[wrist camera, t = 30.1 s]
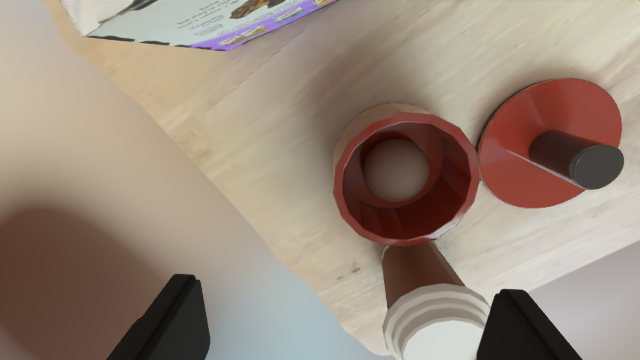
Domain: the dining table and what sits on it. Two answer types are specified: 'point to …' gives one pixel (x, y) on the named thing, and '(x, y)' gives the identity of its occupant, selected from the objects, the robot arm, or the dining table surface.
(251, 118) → the dining table surface
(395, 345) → the coffee cup
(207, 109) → the dining table surface
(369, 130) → the pot
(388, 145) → the egg
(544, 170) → the lid
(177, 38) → the candy box
